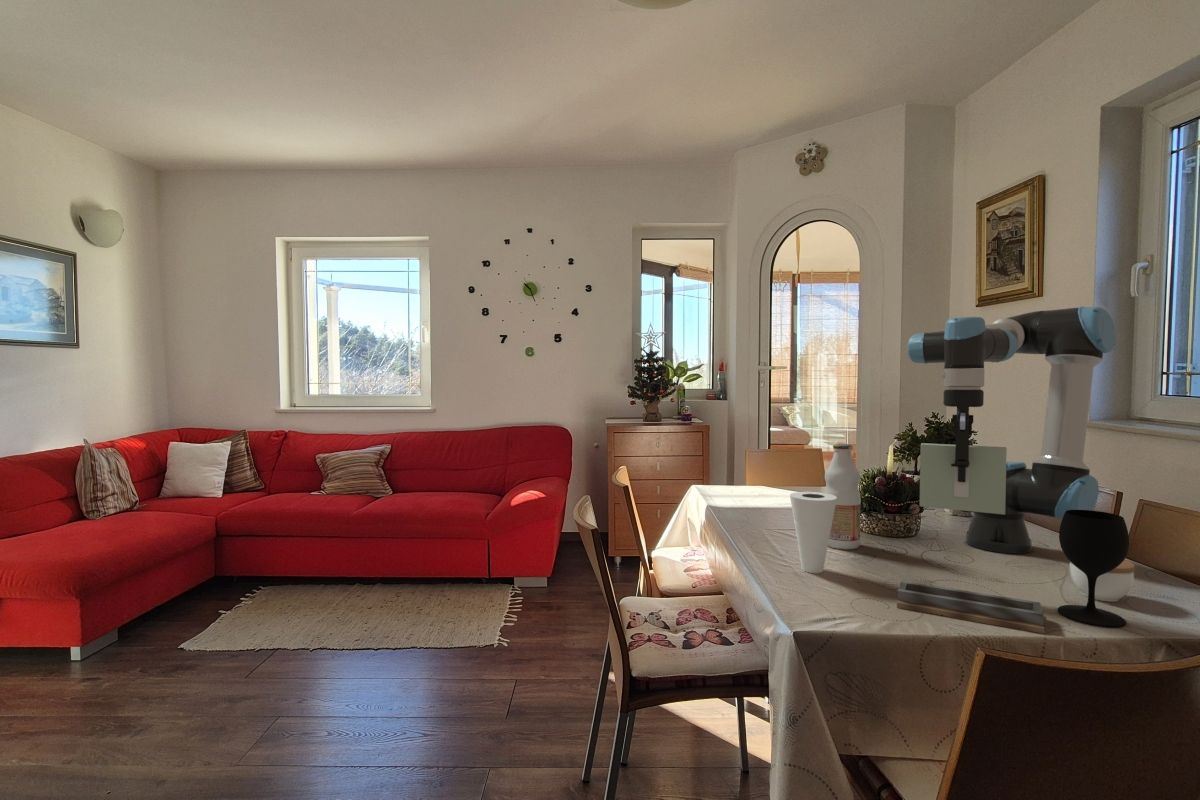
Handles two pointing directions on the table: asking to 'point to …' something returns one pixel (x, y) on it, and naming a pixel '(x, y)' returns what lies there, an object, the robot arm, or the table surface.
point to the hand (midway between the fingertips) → (961, 494)
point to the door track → (972, 606)
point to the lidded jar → (1106, 582)
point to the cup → (813, 527)
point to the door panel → (983, 478)
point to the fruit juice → (844, 498)
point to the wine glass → (1093, 558)
